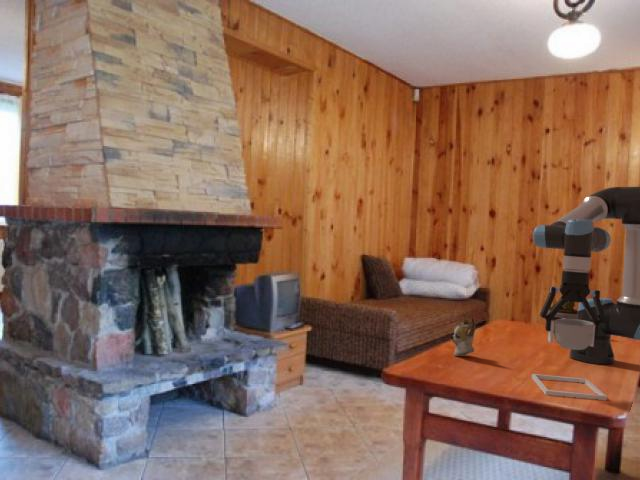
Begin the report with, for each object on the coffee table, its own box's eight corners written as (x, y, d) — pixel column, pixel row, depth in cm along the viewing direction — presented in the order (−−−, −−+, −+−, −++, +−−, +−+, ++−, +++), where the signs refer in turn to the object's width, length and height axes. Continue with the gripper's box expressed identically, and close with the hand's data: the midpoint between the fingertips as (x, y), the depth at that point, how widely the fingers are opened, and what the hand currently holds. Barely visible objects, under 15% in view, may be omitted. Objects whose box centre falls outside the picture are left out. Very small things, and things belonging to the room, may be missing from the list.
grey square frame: (586, 385, 178) (586, 378, 178) (606, 403, 159) (607, 396, 159) (531, 379, 180) (532, 373, 180) (545, 397, 162) (545, 390, 162)
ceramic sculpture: (445, 352, 211) (448, 312, 210) (467, 353, 212) (470, 313, 211) (454, 359, 200) (457, 317, 200) (478, 360, 201) (480, 318, 200)
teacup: (596, 353, 160) (598, 325, 160) (556, 349, 163) (558, 322, 162) (583, 343, 174) (585, 318, 174) (546, 340, 176) (548, 315, 176)
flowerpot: (539, 329, 271) (542, 288, 271) (569, 331, 273) (572, 290, 272) (555, 336, 257) (558, 292, 256) (586, 337, 259) (589, 294, 258)
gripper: (612, 272, 170) (607, 344, 170) (532, 267, 173) (527, 337, 174) (622, 274, 162) (616, 350, 163) (538, 268, 166) (532, 342, 166)
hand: (570, 343), depth 168 cm, fingers closed on teacup, 11 cm apart
